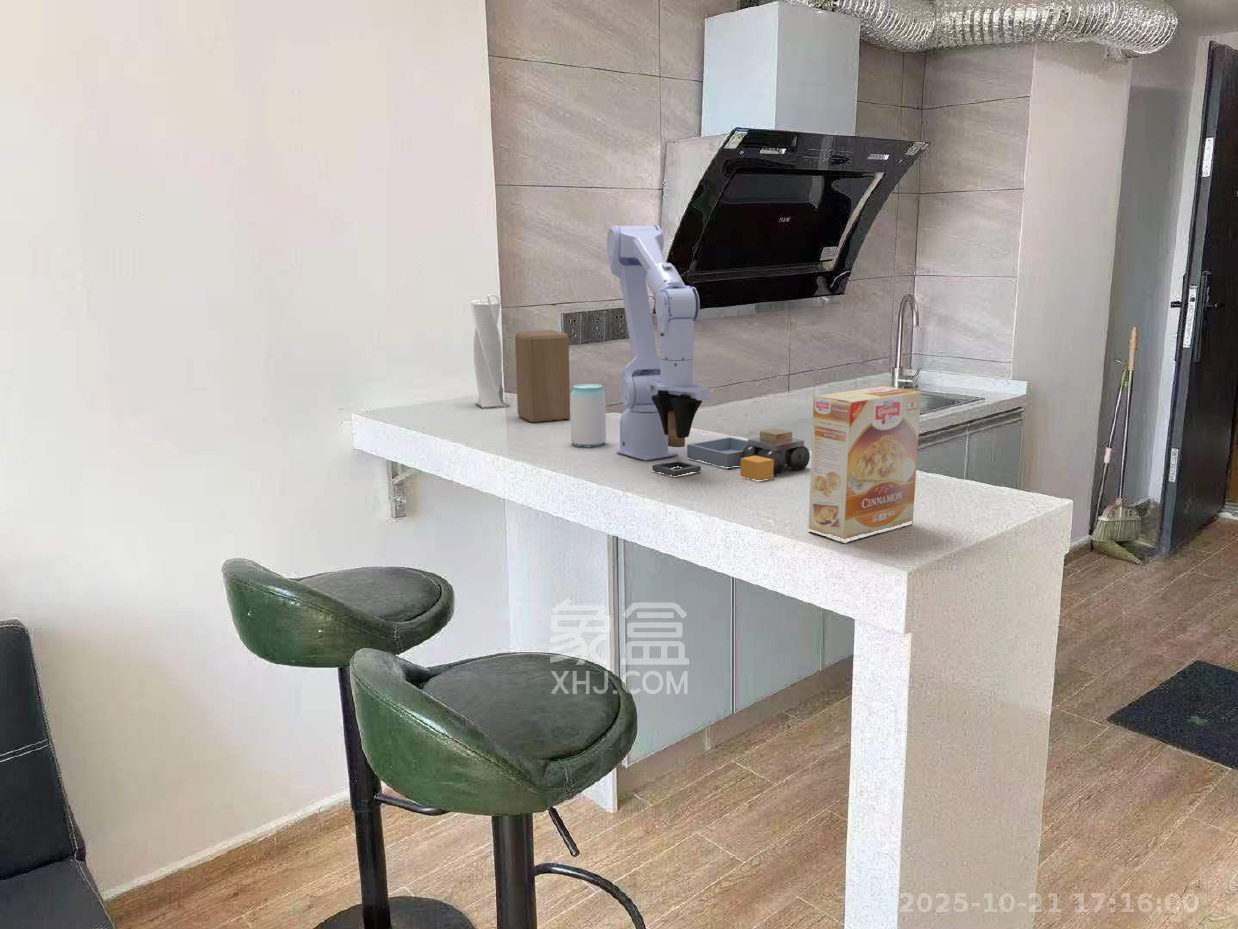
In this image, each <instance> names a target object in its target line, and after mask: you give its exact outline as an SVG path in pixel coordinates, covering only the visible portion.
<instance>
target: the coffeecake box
mask: <svg viewBox="0 0 1238 929" xmlns="http://www.w3.org/2000/svg"><path fill="white" fill-rule="evenodd" d="M921 401H922V391H920V390H913V389H908V388H900V387H893V386H892V387H891V386H886V385H883V386H878V387H877V386H876V387H872V388H864V389H862V388H861V389H856V390H849V391H847V390H846V391H841V392H831V393H826V394H819V395H818V394H817V395H814V396H813V411H812V412H813V414H812V433H811V434H812V435H811V436H812V437H811V456H810V458H811V459H810V462H811V464H810V482H809V508H808V509H809V511H808V528H809V529H812V530H815V531H818V532H821V533H824V534H831V535H833V536H837V537H840V538H843V539H847V538H851V537H854V536H858V535H861V534H867V533H871V532H874V531H878V530H882V529H885V528H891V527H894V526H897V525H901V524H903V523H906V522H909V521H913V522H914V511H915V510H914V509H915V508H914V507H915V494H916V479H917V477H916V476H917V466H918V464H917V463H918V462H917V461H918V448H919V434H920V419H921V417H920V416H921V404H922V402H921ZM808 528H807V529H808Z"/></svg>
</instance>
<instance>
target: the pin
mask: <svg viewBox="0 0 1238 929" xmlns="http://www.w3.org/2000/svg"><path fill="white" fill-rule="evenodd" d="M669 447H670V448H684V447H686V437H685V438H678V437H677V433H676V419H675V413H674V411H669V412H668V448H669Z"/></svg>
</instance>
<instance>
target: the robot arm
mask: <svg viewBox="0 0 1238 929" xmlns="http://www.w3.org/2000/svg"><path fill="white" fill-rule="evenodd" d="M606 238H607V239H606V251H607V257H608V265H609V267H610V273H611V274H612V275H614V276H615V277H617V278H618V279H619V284H620V287H621V288H620V289H621V293H622V300H623V305H624V306H623V307H624V313H625V319H626V320H625V321H626V326H627V332H628V338H629V345H630V352H631V357H632V360H630V362H629V363H627V364H626V365H625V366H624V367H623V369H622V371H621V373H620V398H621V401H622V404H623V405H624V406H625V408H626V409H625V410H624V411H623V412H622V414H621V416H620V420H619V446H620V447H619V449H617V450H616V453H617V454H620V455H624V456H628V457H631V458H635V459H639V460H641V461H642V460H643V461H651V460H657V459H662V458H668V457H675V456H678V455H679V453H678V452H677V451H672V450H669V446H668V412H669V411H674V413H675V419H676V433H677V437H678V438H685V439H686V438H689V435H690V434H691V429H692V426H693V423H694V422H693V421H694V418H695V416H696V413H697V411H698V409H699V407H700V406H701V404H702V403H703V401H706V400H709V399H710V398H709V396H710V395H709V391H710V388H709V387H704V386H702V385H699V384H697V383H694V352H695V351H694V350H695V349H694V348H695V347H694V344H695V343H694V342H695V341H694V340H695V339H694V336H695V332H694V331H695V328H694V327H695V323H694V322H695V321H697V319H698V318H699V315H700V308H701V306H700V304H701V303H700V302H701V301H700V296H699V293H698V291H697V288H696V287H694V286H690V285H686V284H685V283H684V281H683V279H682V277H681V276H680V274H679V272H678V270H677V269H676V267H675V266H674V265H673V264H672V263H671V262H667V261H666V259H665V257H664V255H663V251H664V246H665V238H664V232H663V230H662V228H661V227H660V226H659V225H658V224H653V225H616V224H613V225H611V227H610V228H609V230H608V232H607V237H606ZM647 286H648V288H647ZM648 289H649V290H650V293H651V294H652V296H653V298H654V300H655V304H654V307H655V308H654V310H655V316H656V320H657V331H658V332H659V333H660V334H659V335H660V336H659V337H660V338H659V340H660V343H659V344H660V347H659V348H660V349H659V350H660V353H659V354H660V355H659V354H658V350H657V342H656V338H655V337H656V336H655V331H654V325H653V324H654V323H653V319H652V318H653V317H652V311H651V306H650V300H649V294H648Z"/></svg>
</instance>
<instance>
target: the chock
mask: <svg viewBox="0 0 1238 929" xmlns="http://www.w3.org/2000/svg"><path fill="white" fill-rule="evenodd" d="M739 468H740V470H739V471H740V472H739V475H740V476H742V477H745V478H749V479H755V480H764V479H771V480H773V479H774V475H773V468H774V460H773V459H769V458H764V457H760V456H756V455H755V456H750V457H745V458H740V467H739ZM740 476H739V477H740ZM772 478H773V479H772Z"/></svg>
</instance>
